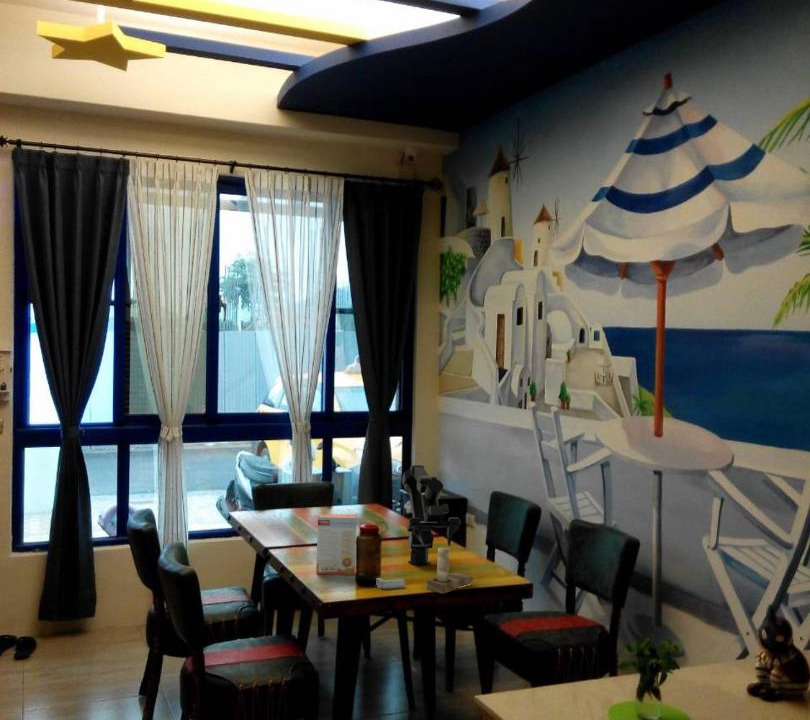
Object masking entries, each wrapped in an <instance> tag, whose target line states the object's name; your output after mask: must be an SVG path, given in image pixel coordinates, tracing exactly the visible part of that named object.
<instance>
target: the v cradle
mask: <svg viewBox="0 0 810 720" xmlns="http://www.w3.org/2000/svg"><path fill="white" fill-rule="evenodd" d="M405 583H406V580H405V579H404V578H398V579H386V580H384V579H382V578H381V577H379V578H376V585H377V586H376V585H375V586H376V587H377V588H379V589H381V590H382V589H383V590H388V589H389V590H390V589H400V588H401V589H402V588H405V585H406V584H405Z"/></svg>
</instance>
